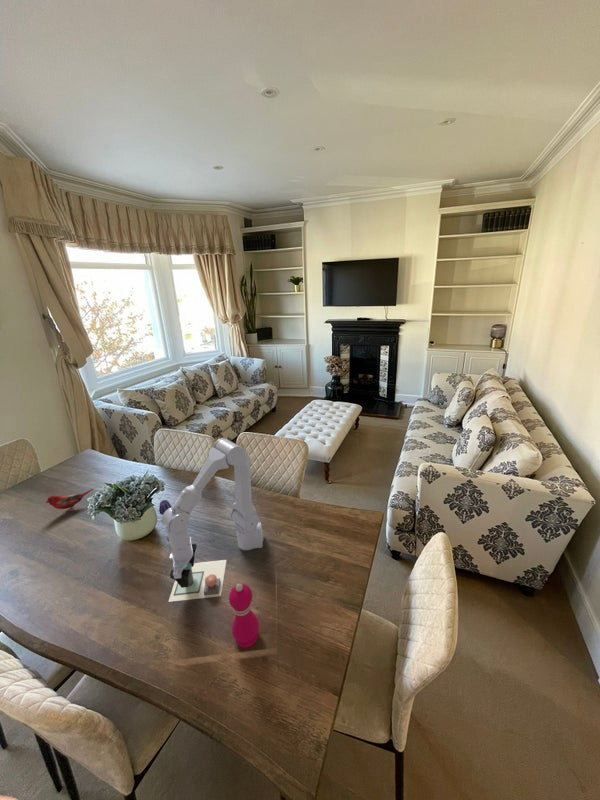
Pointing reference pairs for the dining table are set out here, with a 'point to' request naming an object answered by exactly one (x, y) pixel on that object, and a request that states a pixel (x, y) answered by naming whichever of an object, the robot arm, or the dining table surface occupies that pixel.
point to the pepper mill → (243, 616)
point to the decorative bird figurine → (65, 501)
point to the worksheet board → (201, 582)
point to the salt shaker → (189, 573)
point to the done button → (211, 580)
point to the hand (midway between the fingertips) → (187, 575)
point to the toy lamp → (164, 506)
